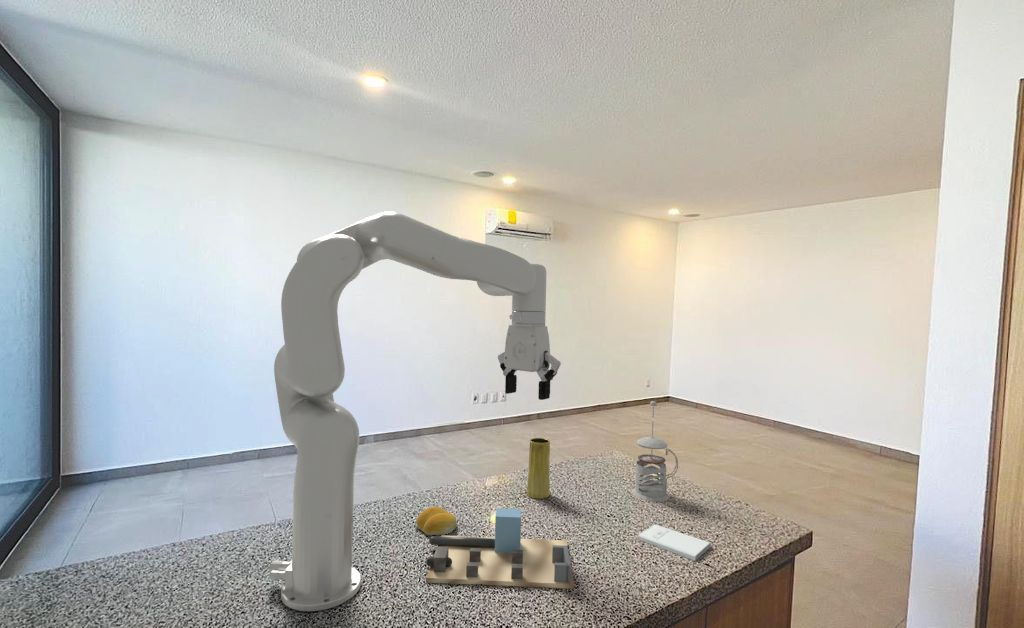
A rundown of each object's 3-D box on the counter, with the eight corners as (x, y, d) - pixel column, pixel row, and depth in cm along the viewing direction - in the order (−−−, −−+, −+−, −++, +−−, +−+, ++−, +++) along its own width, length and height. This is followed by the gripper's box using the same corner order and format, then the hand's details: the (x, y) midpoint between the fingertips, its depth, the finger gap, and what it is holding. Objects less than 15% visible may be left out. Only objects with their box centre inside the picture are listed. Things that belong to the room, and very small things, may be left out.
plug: (427, 549, 95) (428, 513, 95) (430, 539, 99) (431, 505, 99) (520, 553, 95) (521, 517, 95) (520, 543, 99) (521, 509, 99)
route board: (421, 582, 85) (421, 563, 85) (437, 539, 101) (437, 522, 101) (573, 588, 85) (574, 569, 85) (565, 544, 101) (566, 527, 101)
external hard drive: (695, 564, 96) (637, 542, 104) (710, 549, 102) (655, 530, 110) (695, 556, 96) (637, 534, 104) (711, 542, 102) (655, 522, 110)
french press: (629, 486, 135) (632, 396, 135) (672, 489, 134) (675, 399, 133) (633, 500, 126) (636, 403, 125) (680, 503, 124) (683, 406, 124)
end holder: (554, 581, 85) (554, 564, 85) (552, 560, 92) (552, 545, 92) (570, 582, 85) (570, 565, 85) (566, 561, 92) (567, 545, 92)
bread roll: (432, 541, 101) (432, 522, 101) (410, 526, 108) (411, 508, 108) (464, 530, 106) (465, 512, 106) (442, 516, 113) (443, 499, 113)
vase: (550, 499, 124) (552, 443, 124) (526, 498, 124) (528, 443, 124) (549, 490, 130) (550, 437, 130) (526, 489, 131) (527, 436, 130)
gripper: (489, 318, 111) (487, 392, 112) (549, 321, 100) (547, 404, 100) (510, 318, 117) (509, 388, 117) (570, 320, 105) (568, 399, 106)
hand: (526, 395), depth 109 cm, fingers open, 9 cm apart
